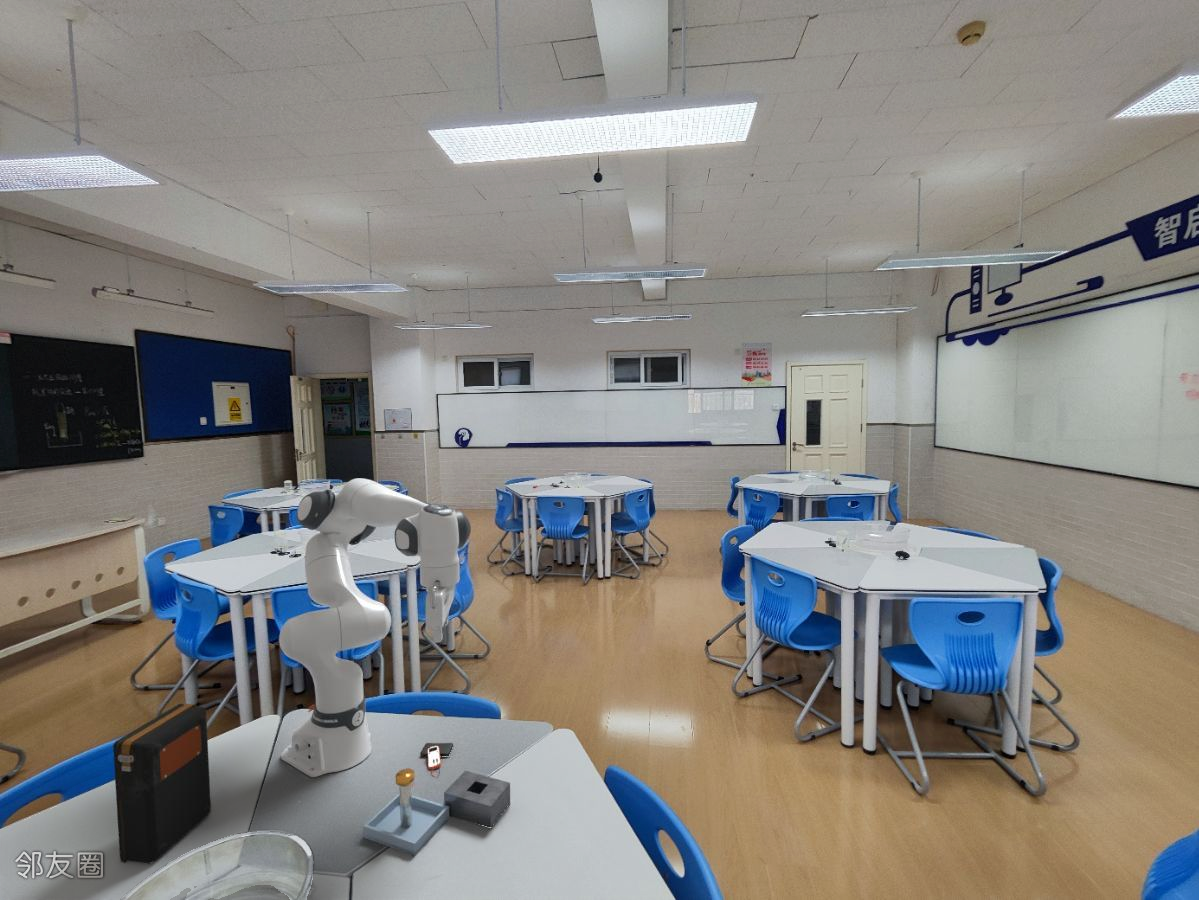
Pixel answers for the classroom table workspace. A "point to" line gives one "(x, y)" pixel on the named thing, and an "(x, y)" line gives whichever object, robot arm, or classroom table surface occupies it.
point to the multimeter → (435, 754)
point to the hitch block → (477, 798)
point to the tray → (410, 839)
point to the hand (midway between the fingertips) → (441, 633)
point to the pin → (405, 796)
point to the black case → (161, 782)
